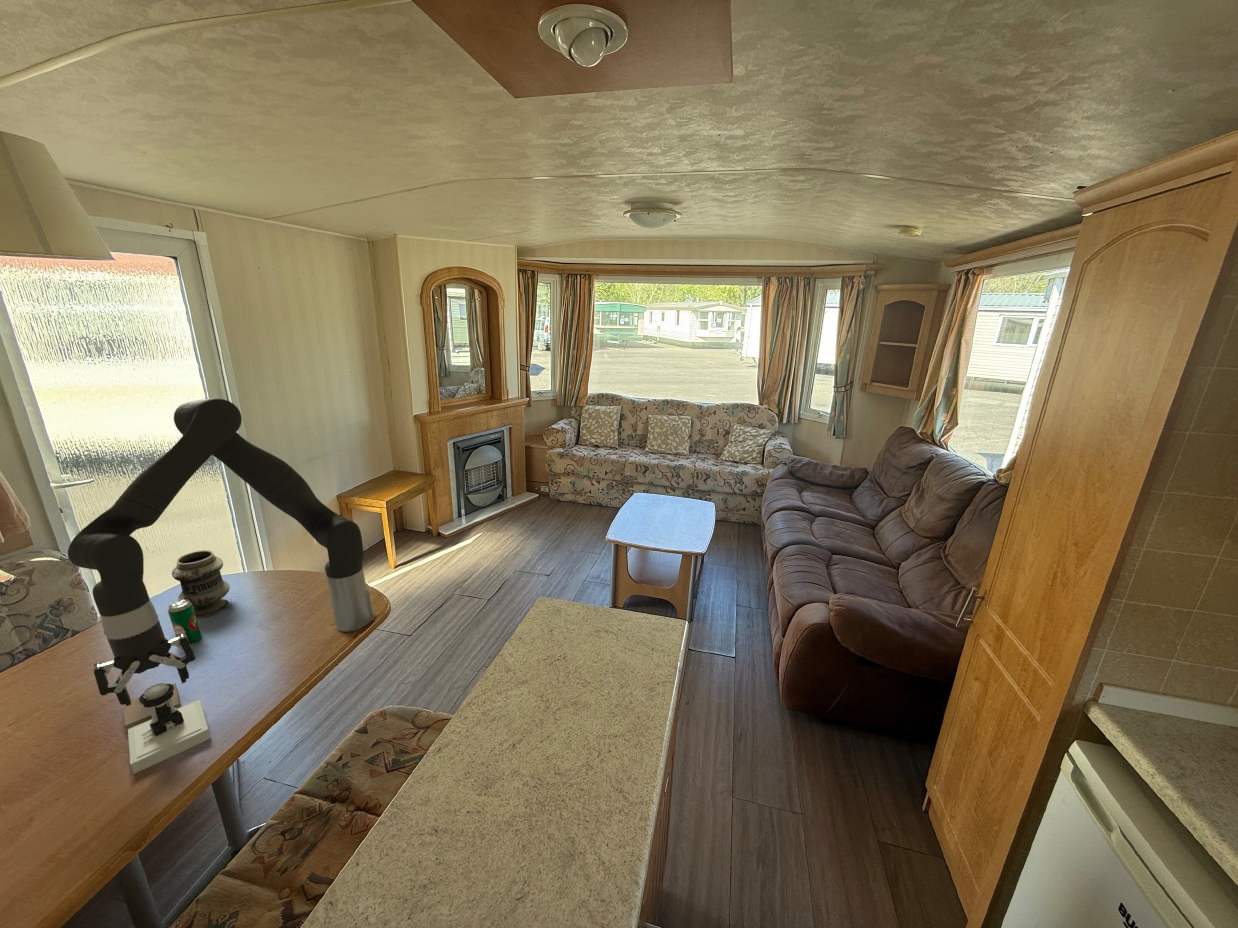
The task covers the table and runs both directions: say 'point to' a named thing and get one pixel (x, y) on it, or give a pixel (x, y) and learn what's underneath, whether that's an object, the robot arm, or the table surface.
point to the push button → (160, 709)
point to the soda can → (184, 620)
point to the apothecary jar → (202, 582)
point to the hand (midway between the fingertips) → (156, 691)
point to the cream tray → (167, 738)
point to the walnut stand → (143, 711)
